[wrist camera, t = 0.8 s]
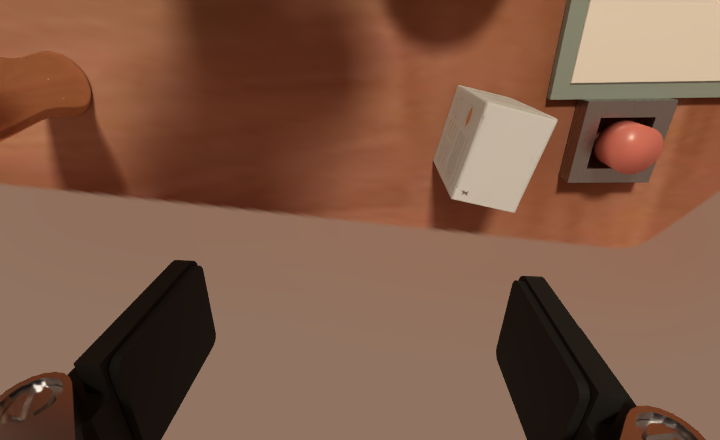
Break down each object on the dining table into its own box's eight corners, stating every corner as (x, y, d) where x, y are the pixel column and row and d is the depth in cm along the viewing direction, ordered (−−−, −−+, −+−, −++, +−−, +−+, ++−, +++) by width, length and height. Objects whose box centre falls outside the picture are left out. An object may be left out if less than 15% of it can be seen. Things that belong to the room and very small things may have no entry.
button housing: (578, 97, 35) (589, 101, 33) (663, 96, 35) (678, 100, 33) (558, 175, 39) (567, 182, 37) (635, 175, 38) (648, 182, 36)
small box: (481, 172, 39) (515, 216, 29) (431, 160, 38) (449, 201, 29) (512, 96, 35) (562, 119, 26) (457, 82, 35) (487, 101, 25)
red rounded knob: (601, 120, 34) (619, 127, 32) (649, 119, 34) (671, 126, 31) (588, 164, 36) (604, 174, 34) (633, 164, 36) (653, 174, 34)
